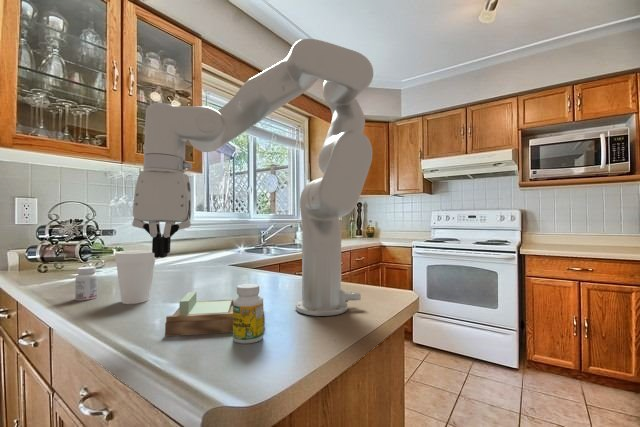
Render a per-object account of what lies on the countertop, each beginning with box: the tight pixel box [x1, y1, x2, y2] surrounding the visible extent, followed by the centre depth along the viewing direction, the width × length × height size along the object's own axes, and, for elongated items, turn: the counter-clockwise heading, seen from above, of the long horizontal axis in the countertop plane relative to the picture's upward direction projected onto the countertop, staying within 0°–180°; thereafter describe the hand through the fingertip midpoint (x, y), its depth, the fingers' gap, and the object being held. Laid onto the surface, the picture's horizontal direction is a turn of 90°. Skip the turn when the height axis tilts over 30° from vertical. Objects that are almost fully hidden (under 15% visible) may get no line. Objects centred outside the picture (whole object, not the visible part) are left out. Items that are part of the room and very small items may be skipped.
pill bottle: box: [74, 266, 98, 301], centre depth 85 cm, size 5×5×8 cm
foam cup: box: [114, 249, 157, 305], centre depth 83 cm, size 10×9×13 cm
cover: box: [179, 291, 232, 315], centre depth 65 cm, size 9×9×3 cm
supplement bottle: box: [232, 283, 264, 345], centre depth 56 cm, size 5×5×10 cm
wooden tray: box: [164, 297, 265, 337], centre depth 65 cm, size 18×12×3 cm, turn 102°
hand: (161, 256), depth 63 cm, fingers closed
